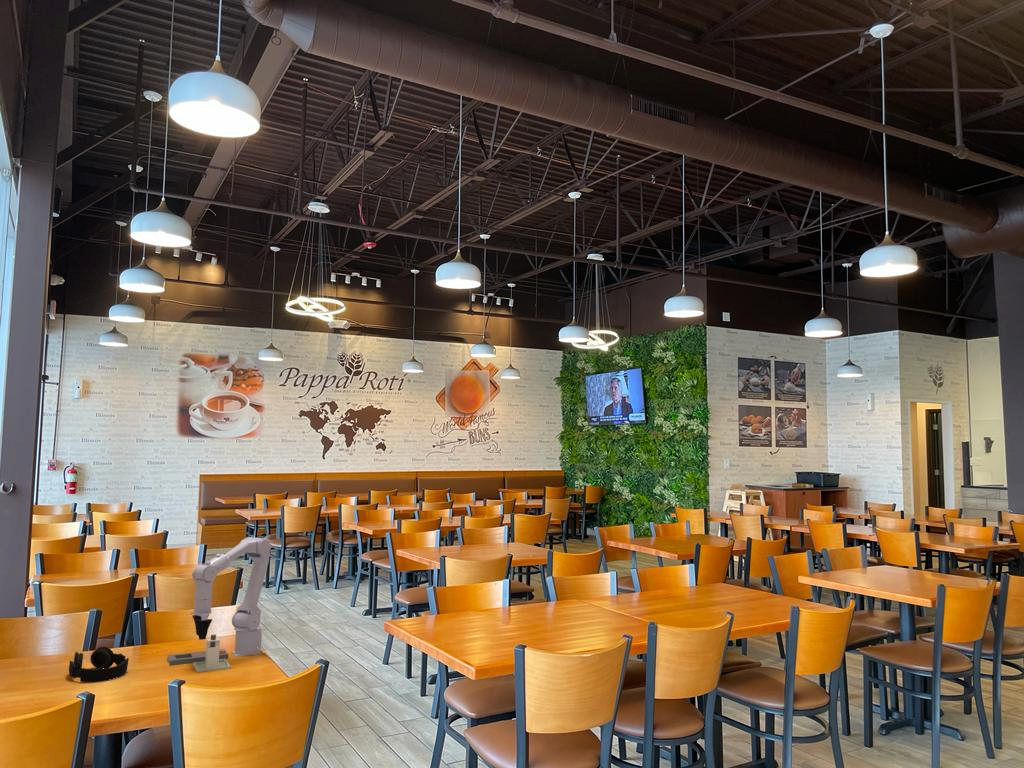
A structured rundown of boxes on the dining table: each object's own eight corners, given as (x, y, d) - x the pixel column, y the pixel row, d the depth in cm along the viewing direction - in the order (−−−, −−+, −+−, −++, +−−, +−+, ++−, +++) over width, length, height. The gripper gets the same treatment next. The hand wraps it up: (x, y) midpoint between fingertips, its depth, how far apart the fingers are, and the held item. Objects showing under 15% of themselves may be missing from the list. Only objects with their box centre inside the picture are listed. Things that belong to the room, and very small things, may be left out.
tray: (225, 662, 274) (225, 658, 274) (230, 669, 265) (230, 666, 265) (193, 665, 269) (193, 662, 269) (197, 673, 259) (197, 669, 260)
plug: (216, 664, 270) (218, 640, 271) (218, 667, 266) (219, 642, 267) (204, 665, 268) (206, 641, 269) (206, 668, 264) (207, 643, 265)
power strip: (224, 654, 285) (225, 631, 286) (228, 659, 278) (229, 636, 279) (167, 660, 276) (168, 636, 276) (169, 666, 268) (171, 641, 269)
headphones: (108, 641, 270) (140, 655, 259) (105, 663, 270) (137, 678, 259) (57, 652, 255) (89, 667, 244) (54, 675, 255) (86, 691, 244)
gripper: (189, 596, 275) (187, 633, 274) (193, 602, 263) (191, 642, 261) (209, 594, 279) (207, 632, 277) (214, 601, 266) (212, 640, 265)
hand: (201, 637), depth 270 cm, fingers open, 7 cm apart
